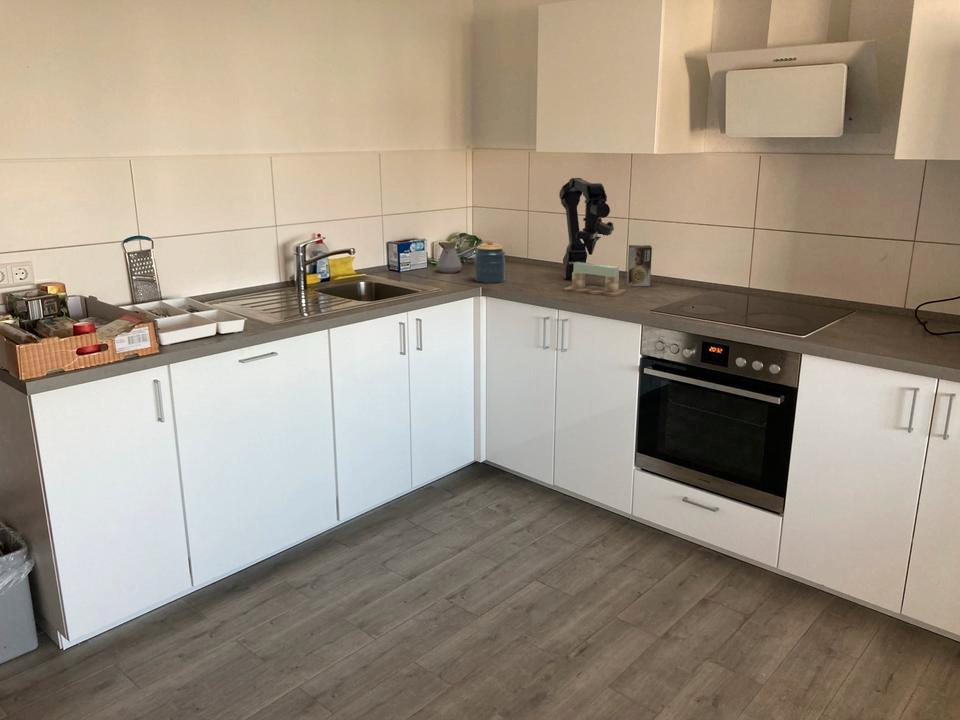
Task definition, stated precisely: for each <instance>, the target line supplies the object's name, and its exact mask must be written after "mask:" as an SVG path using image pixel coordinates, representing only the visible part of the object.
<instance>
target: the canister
mask: <svg viewBox="0 0 960 720" xmlns="http://www.w3.org/2000/svg"><path fill="white" fill-rule="evenodd" d="M503 249H504V246H502V245H501V244H500V243H496V242H495V243H494V240H493V239H492V238H488V239H486V242H485V243H480V244H479V245H477V246H476V251H475V252H474V255H475V259H474V281H475V282H478V283H483V284H497V283H502V282H505V278H506V274H505V272H506V268H505V267H506V259H505V255H506V252H505V251H504V250H503Z"/></svg>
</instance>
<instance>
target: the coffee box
mask: <svg viewBox="0 0 960 720" xmlns="http://www.w3.org/2000/svg"><path fill="white" fill-rule="evenodd" d="M627 254H628V255H627V257H628V258H627V272H626V273H627V274H626V285H627V286H628V287H650V286H651V275H652V274H651V272H652V257H653V256H652V255H653V247H652V245H650V244H649V245H647V244H641V245H640V244H629V245H628V253H627Z"/></svg>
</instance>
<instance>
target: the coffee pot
mask: <svg viewBox="0 0 960 720" xmlns="http://www.w3.org/2000/svg"><path fill="white" fill-rule="evenodd" d="M437 245H439V247H440V248H441V249H442V250H441V252H440V253H441V254H440V256H439V258H438V260H437V263H436V268H437V270H438V271H439V272H440V273H443V274H454V273H455V274H456V273H458V272H459V271H460V270H461V269H462V266H463V264H462V262H461V260H460V257H459V255H458V253H457V250H456V245H457V242H438V243H437Z"/></svg>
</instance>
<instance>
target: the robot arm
mask: <svg viewBox="0 0 960 720" xmlns="http://www.w3.org/2000/svg"><path fill="white" fill-rule="evenodd" d="M558 196H559V199H560V203H561V205H562V207H563V208H564V209H565V214H566V224H567V233H568V242H569V243H568V245H567V246H566V251H565V254H564V257H563V258H562V264H563V265H564V266H565V277H563V280H569V281H572V273H573V269H574V263H577V262H582V263H587V259H588V255H589V256H590V255H591V256H592V255H593V252H594V250H595V248H596V244H597V242H598V241H599V240H600V239H601V238H602V236H610V235H612V232H613V231H614V230H615V229H614V228H615V227H614V222H612V221H608V222H604V221H603V219H605V218H607V217H608V216H609V214H610V212H611V209H610V206H609V204H608V203H606V202H607V201H608V200H607V198H608V196H607V194H606V190H605V187H604V185H603V184H602V183H600V182H599V183H598V182H597V183H594V182H593V183H592V182H589V181H587V180H584V179H583V178H581V177H571V178H570V179H569V180H568V182H567V183H565V184H563V185H562V187H561V189H560V190H559V194H558ZM582 196H584V198H585V200H584V203H585V210H584V212H585V213H584V214H585V215H584V217H583V218H582V219H583V220H582V221H583V222H584V228H582V230H580V223H579V213H578V206H579V203H580V201H581V197H582ZM599 235H602V236H599Z"/></svg>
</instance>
